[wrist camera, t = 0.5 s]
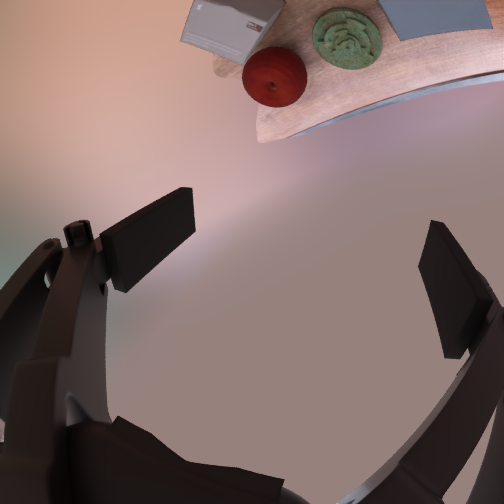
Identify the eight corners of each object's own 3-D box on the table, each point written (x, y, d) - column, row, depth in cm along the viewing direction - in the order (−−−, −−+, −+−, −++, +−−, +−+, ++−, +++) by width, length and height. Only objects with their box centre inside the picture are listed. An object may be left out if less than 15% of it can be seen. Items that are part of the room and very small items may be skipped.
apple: (272, 92, 43) (258, 123, 39) (243, 51, 36) (221, 76, 32) (321, 76, 37) (314, 106, 33) (293, 29, 31) (280, 49, 27)
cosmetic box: (222, 12, 30) (173, 45, 23) (239, -22, 24) (190, -5, 17) (271, 32, 32) (239, 72, 26) (292, -1, 26) (266, 23, 19)
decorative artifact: (390, 27, 25) (326, -3, 24) (398, 40, 22) (323, 4, 21) (364, 73, 34) (305, 47, 33) (366, 92, 31) (299, 63, 30)
